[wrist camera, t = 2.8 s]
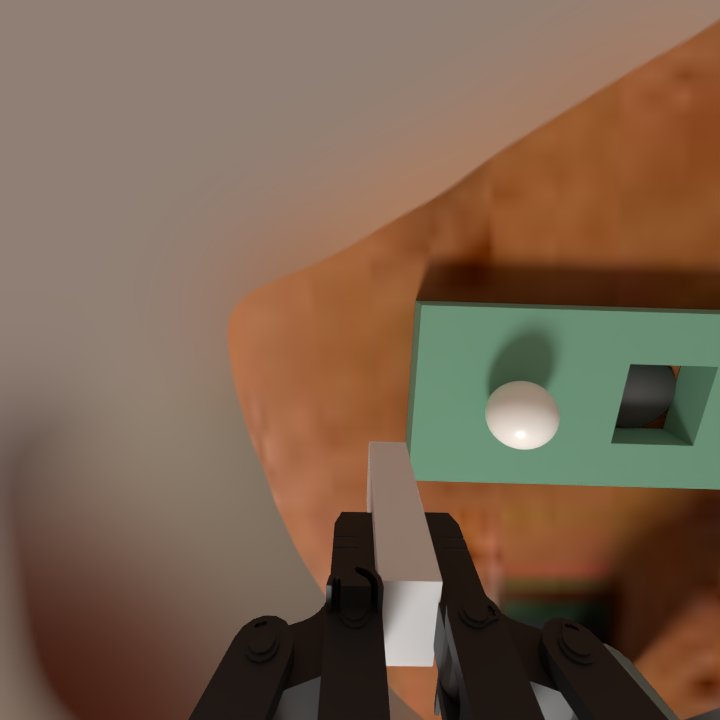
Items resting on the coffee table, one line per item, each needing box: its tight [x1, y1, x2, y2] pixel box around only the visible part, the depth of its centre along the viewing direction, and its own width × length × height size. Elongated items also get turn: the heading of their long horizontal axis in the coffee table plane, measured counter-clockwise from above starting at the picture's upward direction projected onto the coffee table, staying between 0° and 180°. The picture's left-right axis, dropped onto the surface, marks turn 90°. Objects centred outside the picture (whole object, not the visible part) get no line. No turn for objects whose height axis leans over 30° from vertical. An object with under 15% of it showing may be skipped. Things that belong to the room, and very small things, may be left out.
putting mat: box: [406, 301, 720, 489], centre depth 24 cm, size 22×12×2 cm, turn 88°
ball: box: [485, 381, 560, 450], centre depth 21 cm, size 4×4×4 cm
